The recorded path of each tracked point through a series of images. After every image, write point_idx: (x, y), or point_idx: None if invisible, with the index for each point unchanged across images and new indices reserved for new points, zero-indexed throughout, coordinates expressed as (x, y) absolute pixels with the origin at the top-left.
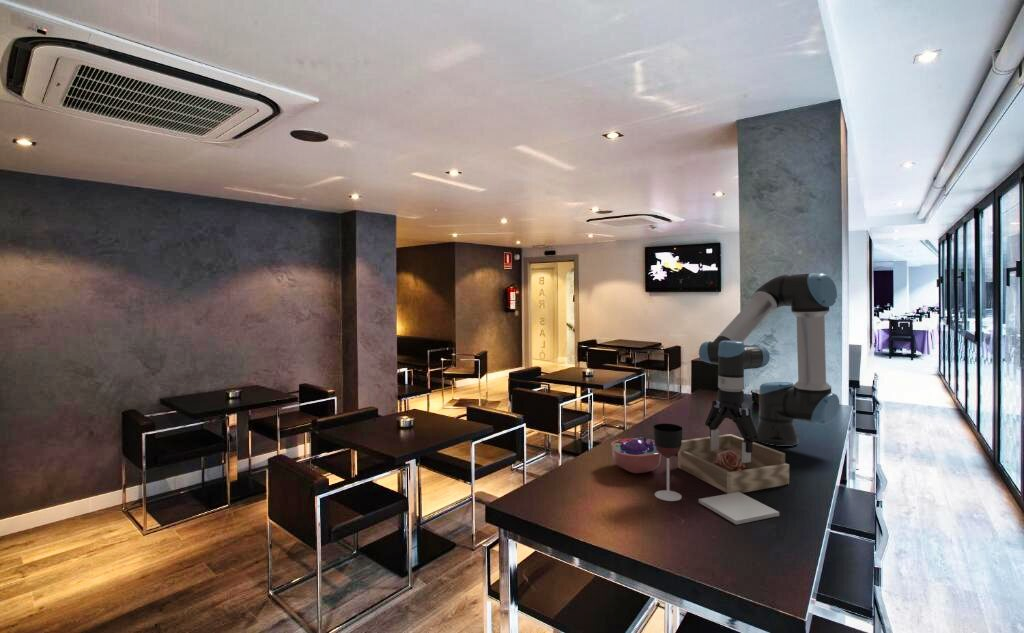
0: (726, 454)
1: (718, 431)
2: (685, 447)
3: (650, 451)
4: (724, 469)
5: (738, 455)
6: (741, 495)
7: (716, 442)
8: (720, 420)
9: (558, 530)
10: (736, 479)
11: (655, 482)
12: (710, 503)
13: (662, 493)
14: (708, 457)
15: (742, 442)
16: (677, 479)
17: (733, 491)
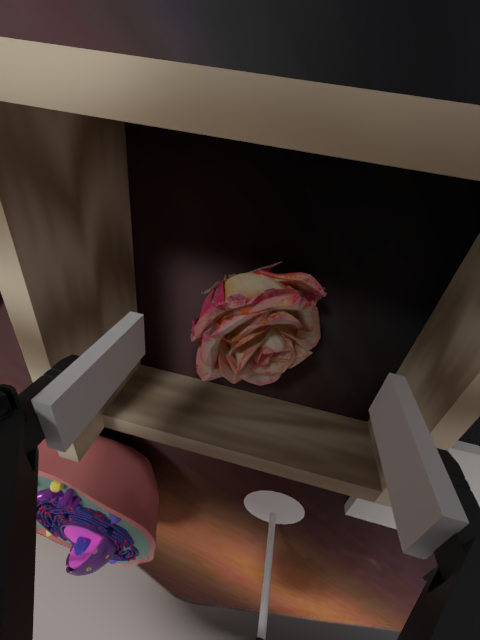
0: (239, 368)
1: (64, 399)
2: (92, 421)
3: (131, 540)
4: (347, 484)
5: (279, 319)
6: None
7: (121, 355)
8: (21, 574)
9: (274, 613)
10: None
11: (200, 475)
12: (381, 519)
13: (264, 515)
14: (115, 280)
15: (403, 542)
16: None
17: None
